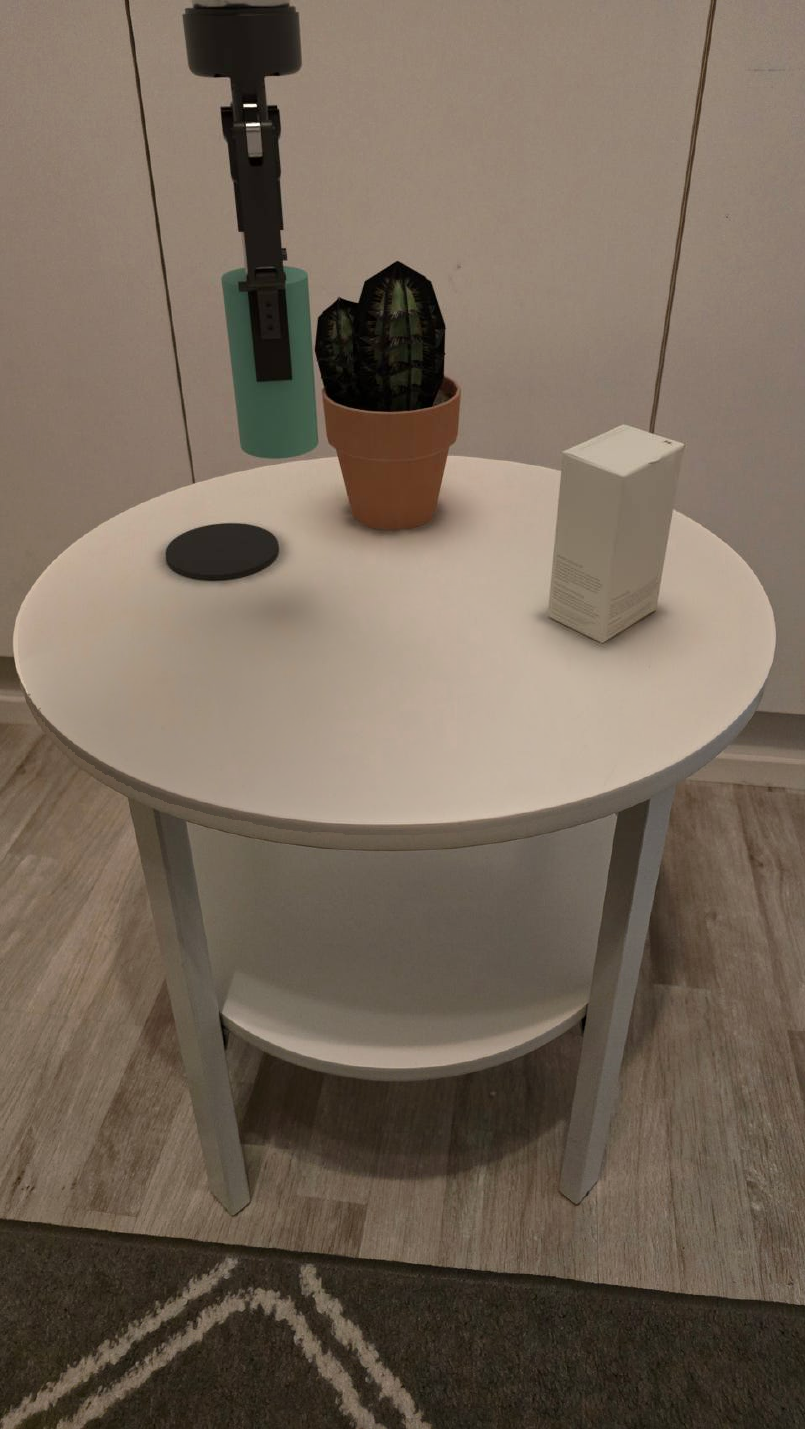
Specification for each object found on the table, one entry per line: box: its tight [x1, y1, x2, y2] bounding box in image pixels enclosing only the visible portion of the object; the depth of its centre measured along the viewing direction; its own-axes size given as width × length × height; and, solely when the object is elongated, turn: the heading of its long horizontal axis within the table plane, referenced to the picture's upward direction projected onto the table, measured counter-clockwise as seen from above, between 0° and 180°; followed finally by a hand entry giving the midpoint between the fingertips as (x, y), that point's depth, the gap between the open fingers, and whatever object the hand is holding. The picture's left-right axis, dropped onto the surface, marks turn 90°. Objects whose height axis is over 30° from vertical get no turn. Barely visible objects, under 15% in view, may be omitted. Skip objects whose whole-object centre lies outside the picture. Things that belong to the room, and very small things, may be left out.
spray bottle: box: [220, 155, 319, 460], centre depth 74 cm, size 7×6×21 cm
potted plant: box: [314, 260, 462, 531], centre depth 96 cm, size 14×14×25 cm
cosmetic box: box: [547, 424, 686, 644], centre depth 82 cm, size 8×7×16 cm
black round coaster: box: [164, 522, 280, 581], centre depth 97 cm, size 11×11×1 cm
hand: (272, 364), depth 77 cm, fingers closed on spray bottle, 6 cm apart
